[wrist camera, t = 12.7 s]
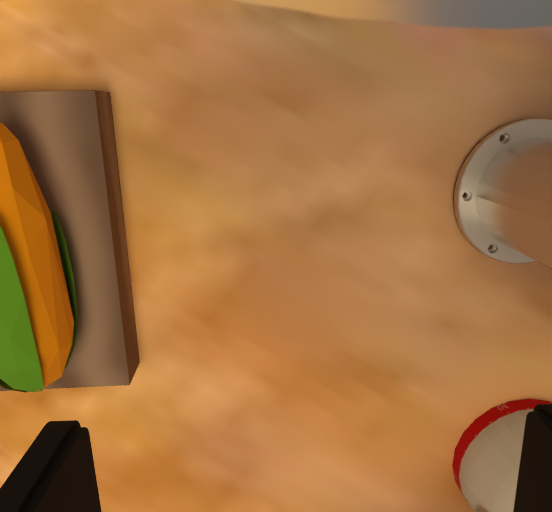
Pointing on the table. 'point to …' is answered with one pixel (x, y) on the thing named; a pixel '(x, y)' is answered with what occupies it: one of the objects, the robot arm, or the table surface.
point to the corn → (32, 279)
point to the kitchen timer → (492, 456)
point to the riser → (83, 222)
